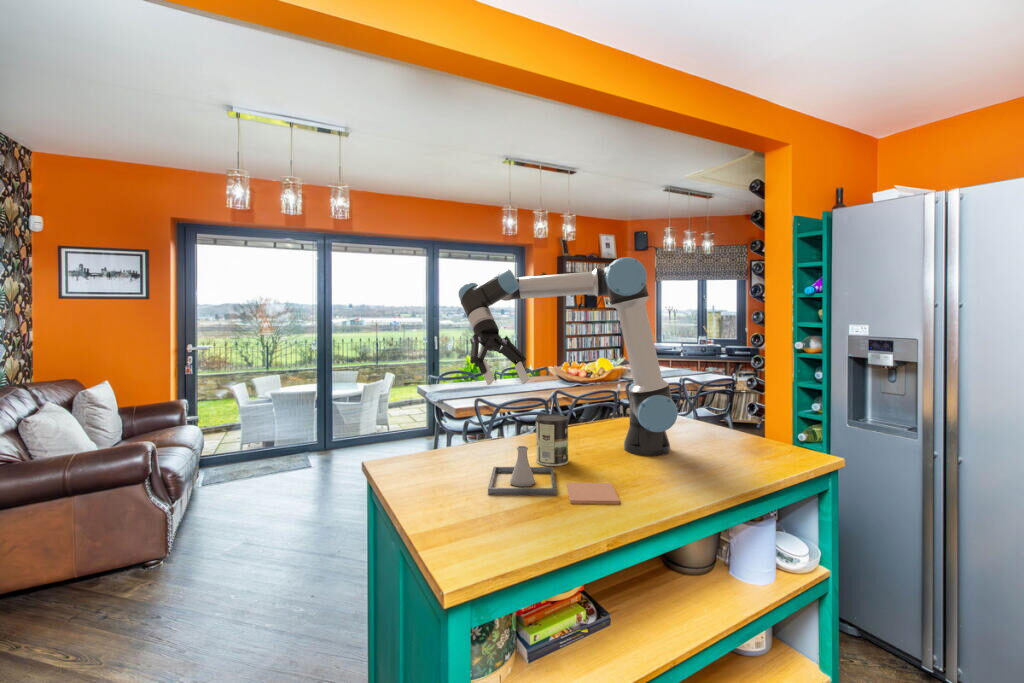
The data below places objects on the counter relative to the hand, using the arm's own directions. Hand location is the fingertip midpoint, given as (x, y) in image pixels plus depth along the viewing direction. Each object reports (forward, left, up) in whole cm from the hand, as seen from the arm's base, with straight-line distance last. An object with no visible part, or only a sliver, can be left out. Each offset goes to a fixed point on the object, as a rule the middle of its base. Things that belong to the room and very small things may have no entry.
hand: (509, 382), depth 133 cm
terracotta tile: (-22, +16, -27) cm, 38 cm away
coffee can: (-13, -11, -27) cm, 32 cm away
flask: (-4, +8, -27) cm, 29 cm away
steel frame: (-4, +8, -27) cm, 28 cm away
